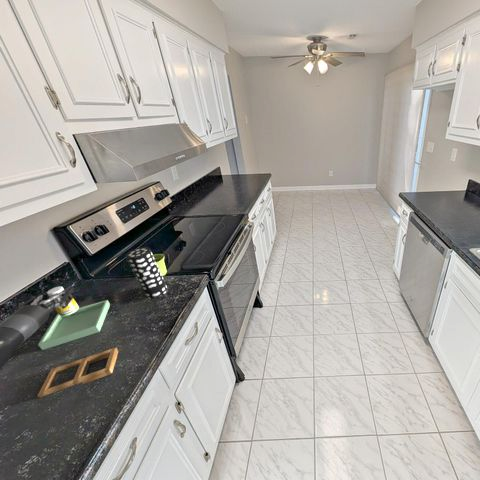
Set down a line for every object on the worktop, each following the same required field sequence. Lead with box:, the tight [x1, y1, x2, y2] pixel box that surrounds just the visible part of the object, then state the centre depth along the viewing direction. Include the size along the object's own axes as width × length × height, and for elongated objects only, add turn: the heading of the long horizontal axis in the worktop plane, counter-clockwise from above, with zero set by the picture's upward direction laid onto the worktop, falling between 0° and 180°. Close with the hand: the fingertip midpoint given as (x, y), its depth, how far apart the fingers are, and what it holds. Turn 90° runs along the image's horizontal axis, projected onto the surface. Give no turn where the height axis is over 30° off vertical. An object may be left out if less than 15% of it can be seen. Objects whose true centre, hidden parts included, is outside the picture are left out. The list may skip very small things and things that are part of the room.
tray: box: [37, 299, 111, 351], centre depth 94 cm, size 16×16×3 cm
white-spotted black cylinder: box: [125, 246, 169, 300], centre depth 104 cm, size 8×8×20 cm
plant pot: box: [153, 253, 168, 277], centre depth 119 cm, size 9×9×9 cm
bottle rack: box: [37, 347, 119, 399], centre depth 75 cm, size 16×9×2 cm, turn 115°
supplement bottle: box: [46, 285, 80, 316], centre depth 88 cm, size 5×5×10 cm
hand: (62, 289), depth 89 cm, fingers closed on supplement bottle, 5 cm apart
